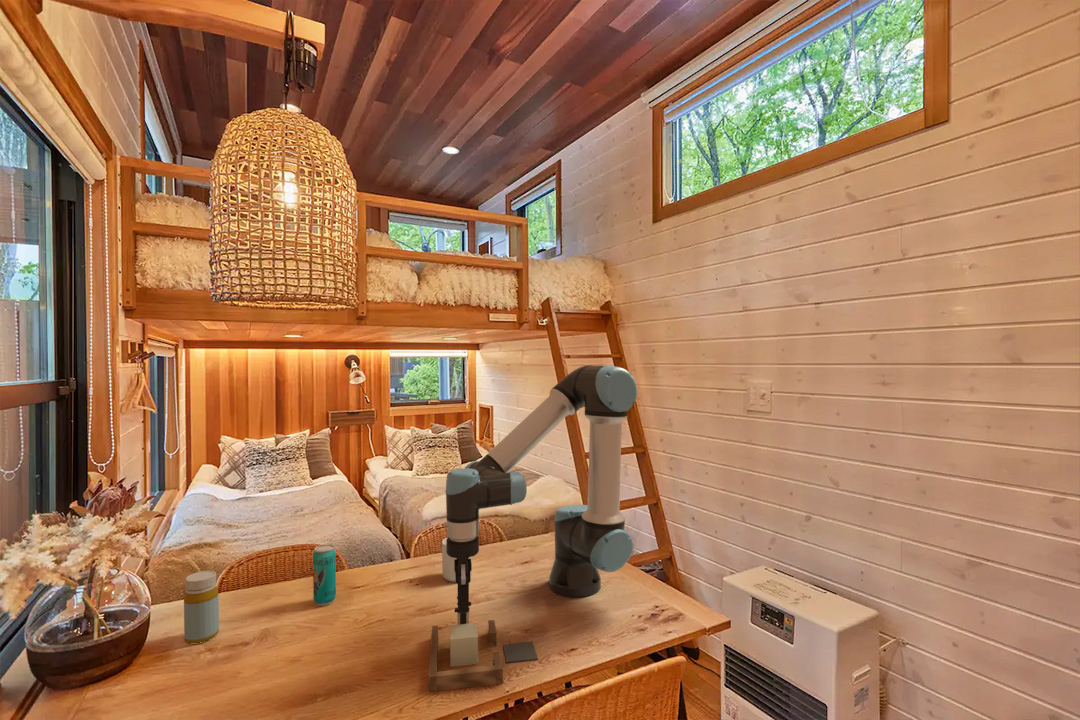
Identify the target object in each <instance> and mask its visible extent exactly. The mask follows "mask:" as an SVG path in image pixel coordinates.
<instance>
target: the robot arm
mask: <svg viewBox="0 0 1080 720" xmlns="http://www.w3.org/2000/svg"><path fill="white" fill-rule="evenodd" d="M637 397H638V386H637V382H636V380H635V378H634V376H633V375H632V374H631V373H630V372H629V371H628V370H627V369H625V368H623V367H620V366H616V365H615V366H614V365H590V364H589V365H583V366H581V367H578V368H576V369H574V370H572V371H571V372H570V373H568V374H567V375H566V376H564V378H562V379H561V380H560V381H559V382H558V383H556V384H555V385H554V386H553V387H552V388H551V389H549V395H548V396H547V398H545V400H543V401H542V402H541V403H540V404H539V405H538V406H537V407H536V408H535V409H534V410H533V411H532V412H531V413H530V414H529V415H528V416H526V417H525V418H524V419H523V420H521V422H520V423H519V424H518V425H516V426H515V427H514V429H512V430H511V431H510V432H509V433H508V434H507V435H506V436H505V437H504V438H503V439H501V441H500V442H499V443H498V444H496V445H495V446H494V447H493V448H492V449H491V450H490V451H489V452H488V453H487V454H486V455H485V456H483V457H482V458H481V459H480V460H477V461H476V460H475V461H471V462H469V463H468V464H467V465H465V467H464V468H463V467H461V468H455V469H451V470H450V471H449V472H448V473H447V475H446V481H445V482H446V483H445V505H446V507H445V508H446V509H445V511H446V522H445V523H443V528H446V538H447V539H446V538H445V539H446V552H447V555H448V556H450V557H452V558H457V559H454V571H455V577H456V582H455V584H456V585H457V597H456V599H457V603H456V605H457V608H456V607H455V608H454V613H456V618H457V619H456V623H457V624H456V625H458V624H469V623H470V607H471V606H472V601H470V600H469V599H470V595H469V594H470V583H471V580H472V578H471V577H472V576H471V575H470V572H471V570H472V569H473V568H472V567H473V566H472V564H473V563H472V564H471V558H469V557H472V558H473V557H475V556H476V555H477V554H478V553H479V551H480V537H479V535H480V514H479V512H480V510H481V509H482V510H483V509H488V508H497V507H502V506H503V507H504V506H509V505H510V506H511V505H515V504H519V503H523V501H525V499H526V497H527V487H528V486H527V481H526V479H525V476H524V474H522V473H521V472H520V471H519V472H518V471H513V472H512V471H511V470H512V469H513V468H515V466H516V465H517V464H519V462H520V461H521V460H523V458H525V456H527V455H528V454H529V453H530V452H531V451H532V450H533V449H534V448H535V447H536V446H537V445H538V444H540V442H541V441H543V439H544V438H545V437H547V435H549V434H550V433H551V431H553V430H554V429H555V428H556V427H557V426H558V425H559V424H560V423H561V422H562V421H563V420H564V419H565V418H566V417H567V416H574V414H575V413H577V412H578V411H579V410H580V409H582V408H584V416H585V418H587V420H588V421H589V440H588V441H589V442H588V443H589V445H588V446H589V447H588V449H589V450H588V478H587V479H588V480H587V504H574V505H573V504H572V505H565V506H561V507H559V508H557V509H555V510H556V511H555V512H554V521H553V523H554V561H553V565H552V568H551V571H550V574H549V578H548V579H549V581H548V583H549V585H548V586H549V588H550V589H551V590H552V592H554V593H556V594H559V595H561V596H564V597H572V598H580V597H588V596H591V595H593V594H596V593H598V592H599V591H600V590H601V587H602V578H601V574H600V572H599V570H600V571H603V572H605V573H614V572H616V571H619V570H620V569H622V568H623V567H624V566H625V565H626V563H628V562H629V560H630V558H631V555H632V554H633V549H634V544H633V538H632V536H631V535H630V533H628V531H626V530H625V525H626V523H625V521H626V518H625V516H624V515H623V514H622V513H621V511H620V503H621V501H620V499H621V498H620V496H621V491H620V490H621V467H622V466H621V464H622V462H621V460H622V433H623V432H622V429H623V425H622V424H623V422H624V421H625V420H626V419H628V416H629V414H628V413H629V410H630V409H632V407H633V406H634V403H636V401H637ZM472 571H473V570H472Z"/></svg>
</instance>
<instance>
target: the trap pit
mask: <svg viewBox="0 0 1080 720" xmlns="http://www.w3.org/2000/svg"><path fill="white" fill-rule="evenodd" d="M502 647H503V651H504V652H503V653H504V656H505V662H506V664H511V663H520V662H522V663H523V662H527V661H528V662H530V661H538V659H539V658H538V655H537V652H536V648H535V645H534V641H533V640H531V641H523V642H521V641H520V642H512V643H504V644H503V645H502Z"/></svg>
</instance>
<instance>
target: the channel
mask: <svg viewBox="0 0 1080 720" xmlns="http://www.w3.org/2000/svg"><path fill="white" fill-rule="evenodd" d="M495 621H496V620H495V619H489V620H488V621H487V627H488V628H487V629H488V631H487V632H488V640H489V646H490V647H496V646H497V645H498V644H497V643H498V641H497V639H498V635H497V627H496V622H495ZM429 652H430V653H429V667H428V693H432V692H440V691H447V690H448V691H449V690H455V689H456V690H459V689H465V688H474V687H481V686H492V685H499V684H501V685H502V684H504V670H503V669H504V668H503V667H504V666H503V663H502V662H503V661H502V656H501V651H500V650H498V651H493V652H492V665H488V666H487V665H486V666H485V665H484V666H477V667H470V668H459V669H452V670H451V669H450V670H444V671H443V670H441V671H438V659H439V656H438V655H439V653H438V652H439V625H431V634H430V651H429Z"/></svg>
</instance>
